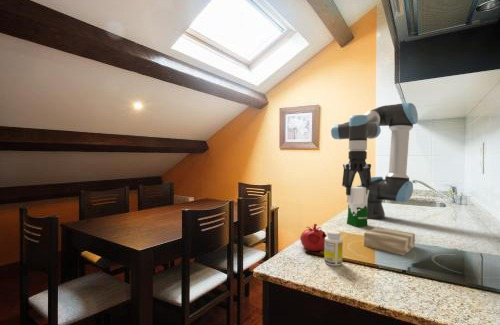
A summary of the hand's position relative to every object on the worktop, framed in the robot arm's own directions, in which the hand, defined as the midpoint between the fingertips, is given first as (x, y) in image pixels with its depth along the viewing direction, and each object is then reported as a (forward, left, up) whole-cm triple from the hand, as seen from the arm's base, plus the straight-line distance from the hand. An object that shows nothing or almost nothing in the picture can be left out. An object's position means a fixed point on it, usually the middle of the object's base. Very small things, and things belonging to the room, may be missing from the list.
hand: (356, 202), depth 122 cm
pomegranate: (+30, -3, -15) cm, 34 cm away
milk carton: (-18, -7, -15) cm, 24 cm away
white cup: (0, 0, -1) cm, 1 cm away
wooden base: (+6, +16, -15) cm, 22 cm away
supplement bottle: (+38, +9, -15) cm, 42 cm away
